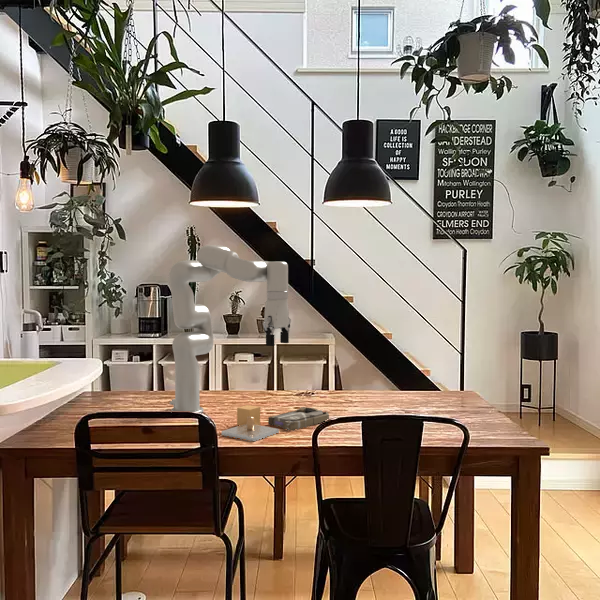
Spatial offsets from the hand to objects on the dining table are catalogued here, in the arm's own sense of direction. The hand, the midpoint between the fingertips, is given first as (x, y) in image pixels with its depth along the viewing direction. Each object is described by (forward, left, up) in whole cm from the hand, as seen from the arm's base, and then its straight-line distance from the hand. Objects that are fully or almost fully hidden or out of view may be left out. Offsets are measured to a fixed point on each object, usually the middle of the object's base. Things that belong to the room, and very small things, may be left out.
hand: (277, 344), depth 236 cm
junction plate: (-3, -12, -30) cm, 33 cm away
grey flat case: (0, +13, -31) cm, 34 cm away
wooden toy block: (-12, -2, -30) cm, 32 cm away
